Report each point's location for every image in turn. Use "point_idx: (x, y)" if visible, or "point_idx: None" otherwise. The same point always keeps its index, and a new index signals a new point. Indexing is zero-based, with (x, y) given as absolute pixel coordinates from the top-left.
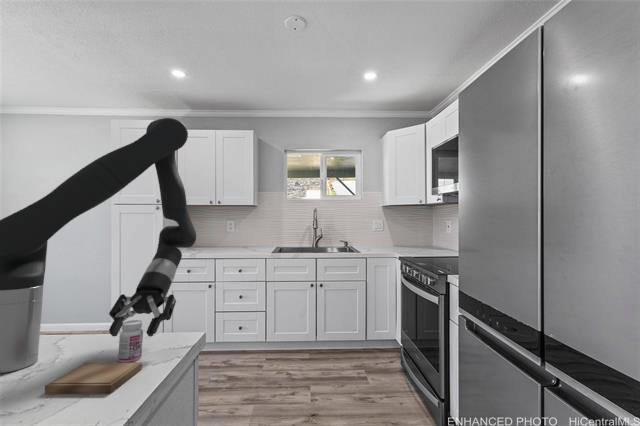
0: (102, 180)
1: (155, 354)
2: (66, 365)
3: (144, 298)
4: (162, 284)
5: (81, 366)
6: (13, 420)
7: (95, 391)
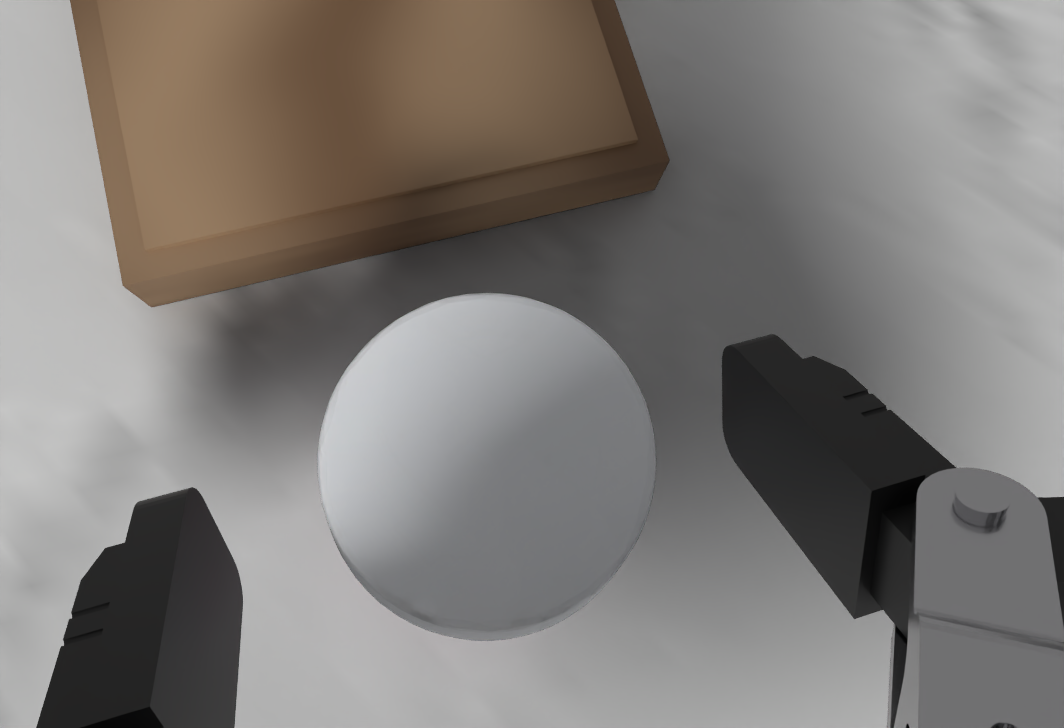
0: None
1: (301, 684)
2: (904, 224)
3: None
4: None
5: (607, 74)
6: None
7: None
